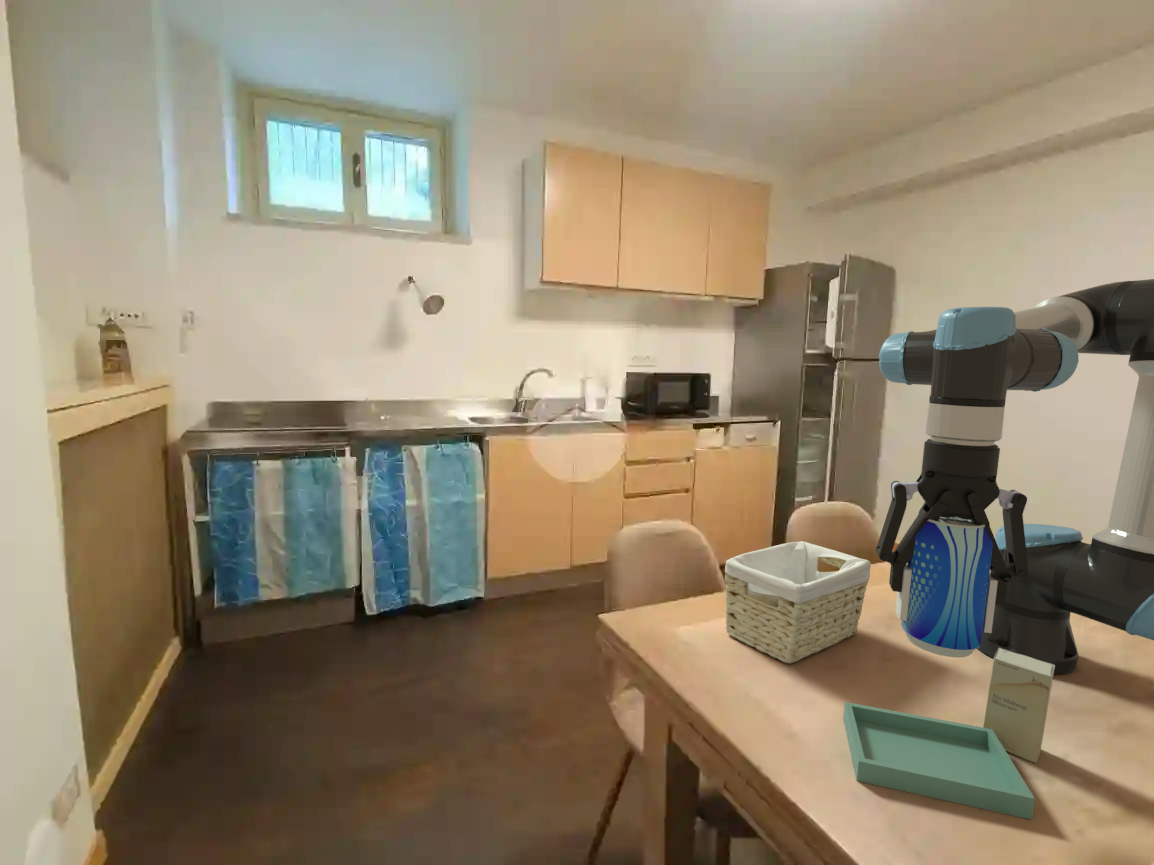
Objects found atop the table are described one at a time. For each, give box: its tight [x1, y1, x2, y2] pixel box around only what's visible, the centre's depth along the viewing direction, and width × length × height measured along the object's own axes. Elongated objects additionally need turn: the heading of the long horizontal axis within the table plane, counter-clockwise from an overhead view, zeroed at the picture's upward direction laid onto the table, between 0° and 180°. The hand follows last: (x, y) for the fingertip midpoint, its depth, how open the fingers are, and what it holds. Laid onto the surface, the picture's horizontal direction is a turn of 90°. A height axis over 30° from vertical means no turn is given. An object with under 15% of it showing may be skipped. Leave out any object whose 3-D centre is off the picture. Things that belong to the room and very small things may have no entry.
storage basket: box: [724, 540, 872, 664], centre depth 107 cm, size 24×16×15 cm
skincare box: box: [982, 648, 1055, 764], centre depth 77 cm, size 6×4×12 cm
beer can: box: [900, 517, 993, 658], centre depth 71 cm, size 8×8×16 cm
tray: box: [842, 701, 1036, 821], centre depth 74 cm, size 18×13×3 cm
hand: (941, 621), depth 72 cm, fingers closed on beer can, 8 cm apart
